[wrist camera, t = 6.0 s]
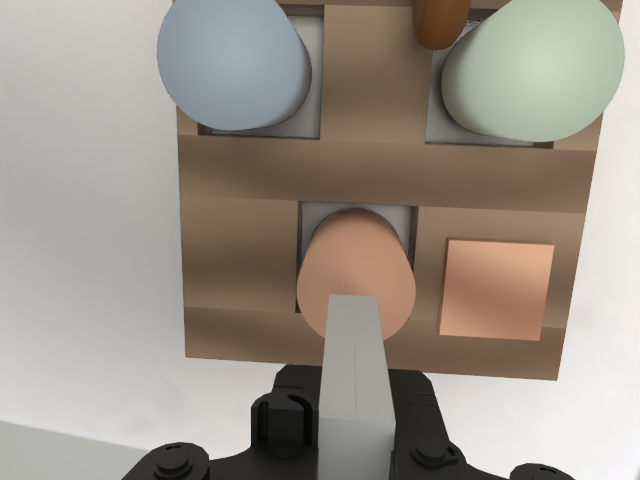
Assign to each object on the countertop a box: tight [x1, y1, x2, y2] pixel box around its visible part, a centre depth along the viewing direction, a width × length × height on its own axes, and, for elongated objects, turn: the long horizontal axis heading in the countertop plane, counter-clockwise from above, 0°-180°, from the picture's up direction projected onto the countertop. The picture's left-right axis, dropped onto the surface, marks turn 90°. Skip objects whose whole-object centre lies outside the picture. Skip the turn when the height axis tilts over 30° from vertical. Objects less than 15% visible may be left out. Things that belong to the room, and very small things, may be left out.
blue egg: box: [157, 0, 312, 130], centre depth 20 cm, size 5×5×6 cm
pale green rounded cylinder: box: [441, 0, 625, 142], centre depth 19 cm, size 5×5×6 cm
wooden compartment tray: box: [173, 0, 623, 381], centre depth 25 cm, size 20×20×3 cm
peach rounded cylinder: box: [297, 208, 416, 341], centre depth 23 cm, size 5×5×6 cm
